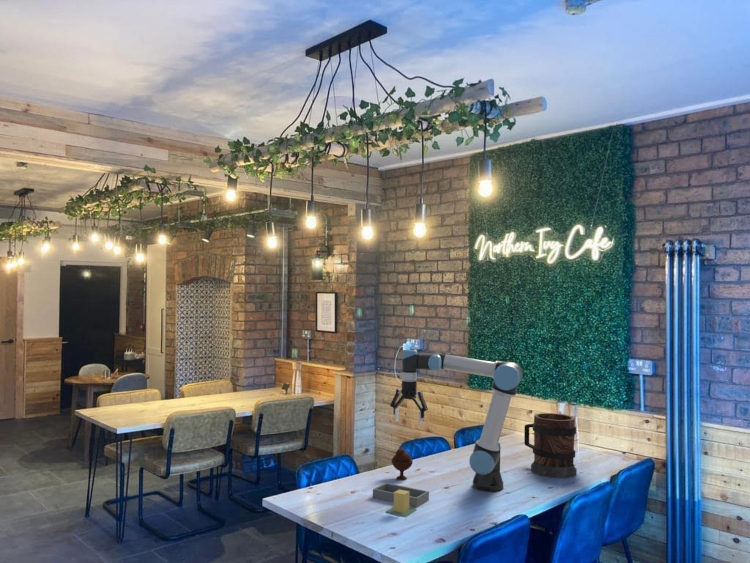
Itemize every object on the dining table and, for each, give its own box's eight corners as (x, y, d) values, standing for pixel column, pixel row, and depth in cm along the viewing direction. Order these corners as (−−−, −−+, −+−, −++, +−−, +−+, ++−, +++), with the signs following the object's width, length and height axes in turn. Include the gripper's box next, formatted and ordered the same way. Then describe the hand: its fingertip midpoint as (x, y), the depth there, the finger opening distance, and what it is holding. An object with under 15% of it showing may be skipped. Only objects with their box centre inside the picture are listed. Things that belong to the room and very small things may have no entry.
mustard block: (409, 509, 270) (409, 491, 270) (403, 513, 266) (404, 494, 266) (399, 507, 273) (399, 489, 273) (393, 510, 268) (393, 492, 269)
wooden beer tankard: (562, 480, 322) (563, 423, 323) (513, 468, 343) (514, 414, 344) (584, 472, 339) (584, 417, 339) (536, 461, 360) (537, 409, 360)
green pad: (416, 511, 271) (416, 509, 271) (405, 517, 262) (405, 516, 262) (396, 506, 276) (396, 504, 276) (385, 513, 268) (385, 511, 268)
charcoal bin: (428, 501, 285) (429, 491, 285) (416, 508, 274) (417, 498, 274) (385, 492, 296) (385, 482, 297) (372, 498, 286) (372, 489, 286)
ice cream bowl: (387, 479, 317) (388, 450, 317) (397, 474, 327) (397, 445, 327) (406, 483, 312) (407, 453, 312) (415, 477, 322) (416, 448, 322)
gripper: (435, 381, 308) (434, 424, 307) (391, 377, 320) (390, 418, 320) (428, 383, 301) (427, 427, 301) (384, 379, 314) (383, 421, 313)
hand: (408, 423), depth 310 cm, fingers open, 13 cm apart
